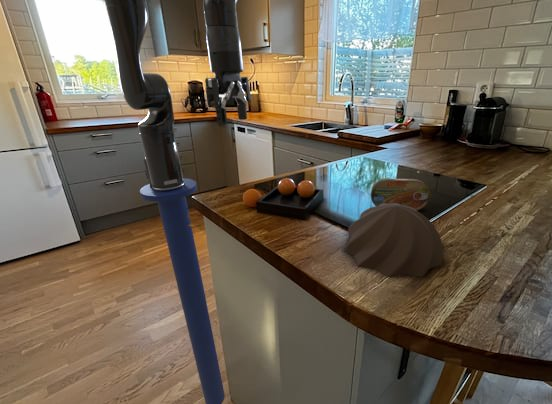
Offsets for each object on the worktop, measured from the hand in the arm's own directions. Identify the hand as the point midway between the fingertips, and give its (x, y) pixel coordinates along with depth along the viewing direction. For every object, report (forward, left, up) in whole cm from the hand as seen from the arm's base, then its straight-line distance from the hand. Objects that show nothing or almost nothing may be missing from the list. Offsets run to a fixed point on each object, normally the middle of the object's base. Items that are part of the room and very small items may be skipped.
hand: (233, 121), depth 75 cm
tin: (+42, +12, -23) cm, 49 cm away
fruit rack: (+14, +4, -23) cm, 27 cm away
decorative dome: (+43, -9, -23) cm, 49 cm away
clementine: (+4, 0, -23) cm, 23 cm away
